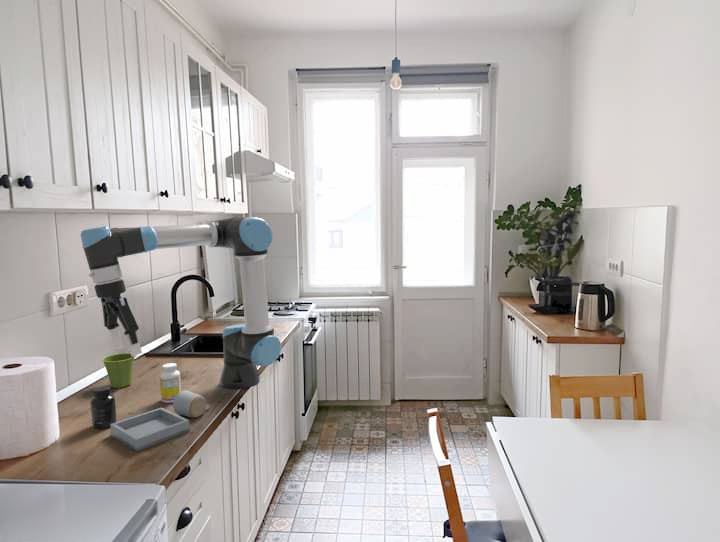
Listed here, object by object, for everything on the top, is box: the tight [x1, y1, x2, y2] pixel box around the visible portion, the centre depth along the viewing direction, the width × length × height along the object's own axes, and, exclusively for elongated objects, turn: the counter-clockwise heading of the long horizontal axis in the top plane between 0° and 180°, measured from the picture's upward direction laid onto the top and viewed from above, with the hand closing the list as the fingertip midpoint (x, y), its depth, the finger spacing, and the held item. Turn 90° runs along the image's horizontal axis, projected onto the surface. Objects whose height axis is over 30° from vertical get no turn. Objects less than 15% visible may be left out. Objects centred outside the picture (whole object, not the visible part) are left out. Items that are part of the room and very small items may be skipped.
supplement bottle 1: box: [89, 385, 118, 430], centre depth 146 cm, size 7×7×12 cm
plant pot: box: [101, 352, 137, 389], centre depth 182 cm, size 12×12×11 cm
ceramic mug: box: [172, 390, 210, 419], centre depth 155 cm, size 11×8×8 cm
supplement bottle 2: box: [159, 362, 182, 404], centre depth 166 cm, size 7×7×13 cm
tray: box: [109, 407, 191, 452], centre depth 140 cm, size 16×16×4 cm
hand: (127, 351), depth 137 cm, fingers open, 13 cm apart
